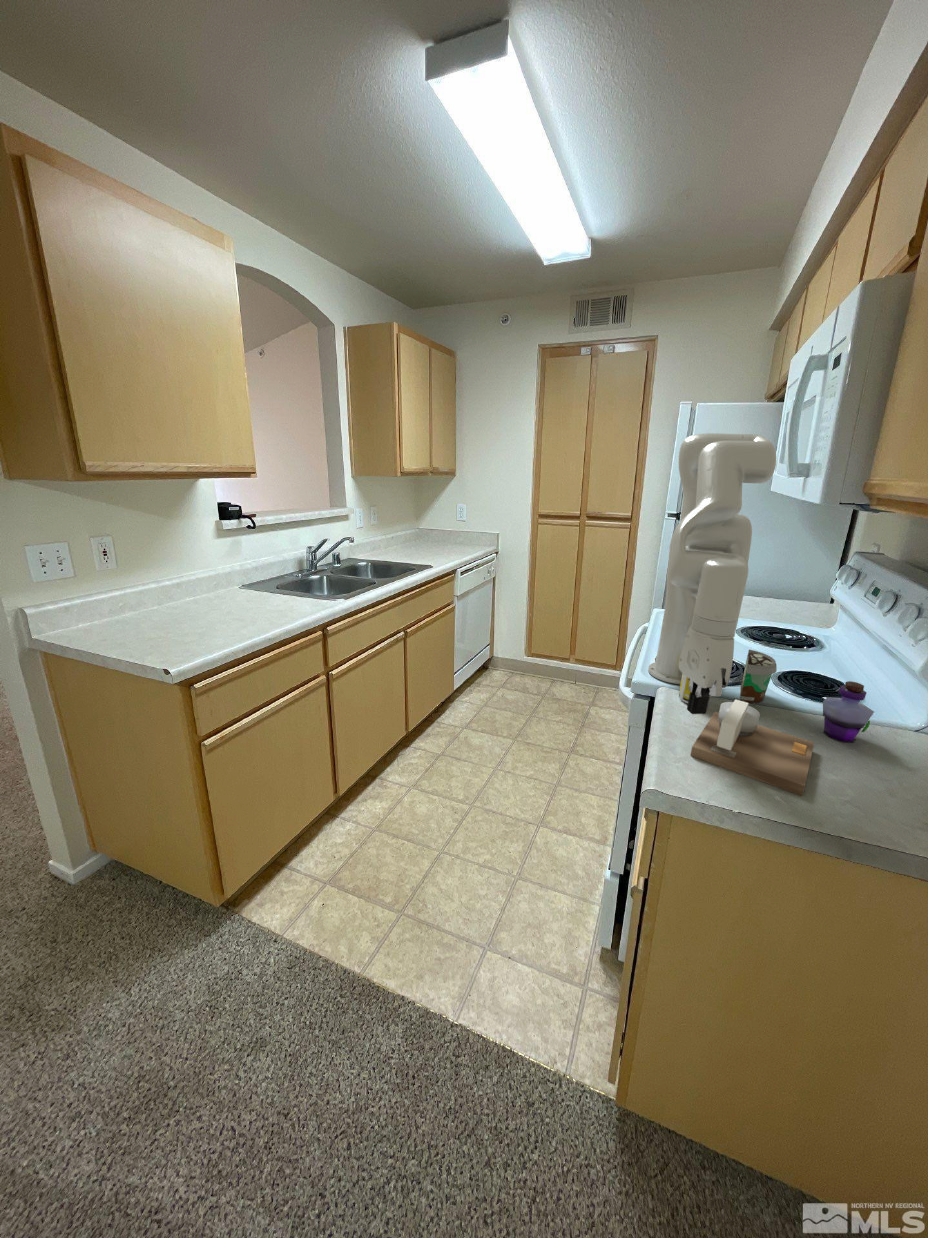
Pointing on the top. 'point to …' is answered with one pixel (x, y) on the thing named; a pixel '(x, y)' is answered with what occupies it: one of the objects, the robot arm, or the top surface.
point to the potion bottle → (846, 713)
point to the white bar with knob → (735, 722)
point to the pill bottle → (684, 689)
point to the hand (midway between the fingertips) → (696, 711)
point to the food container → (756, 676)
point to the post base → (759, 755)
